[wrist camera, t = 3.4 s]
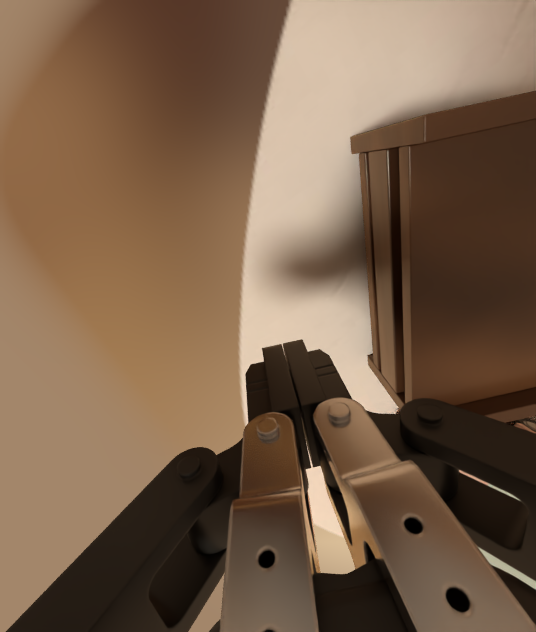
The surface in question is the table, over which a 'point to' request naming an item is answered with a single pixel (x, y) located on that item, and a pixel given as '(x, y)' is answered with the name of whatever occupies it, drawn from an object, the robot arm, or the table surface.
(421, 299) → the brown wooden cabinet
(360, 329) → the table surface
